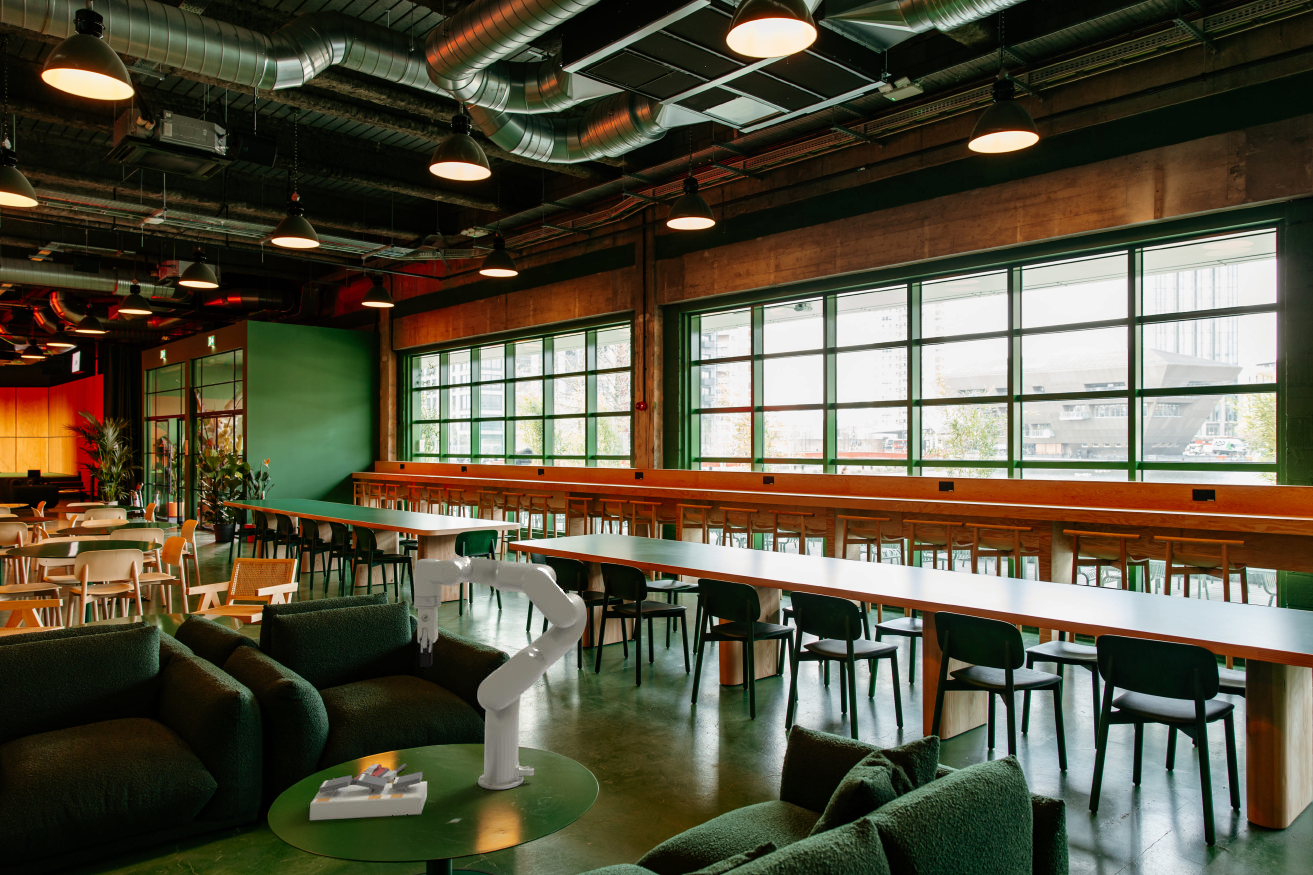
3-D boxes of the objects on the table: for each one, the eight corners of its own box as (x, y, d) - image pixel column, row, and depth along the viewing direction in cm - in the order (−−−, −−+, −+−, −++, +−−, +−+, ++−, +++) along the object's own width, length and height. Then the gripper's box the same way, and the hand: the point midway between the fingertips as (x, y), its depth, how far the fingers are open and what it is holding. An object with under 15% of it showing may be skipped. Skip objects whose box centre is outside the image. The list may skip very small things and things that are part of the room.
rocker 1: (352, 779, 212) (351, 774, 212) (348, 786, 207) (347, 780, 207) (324, 785, 211) (323, 780, 211) (319, 792, 206) (319, 787, 206)
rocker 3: (422, 775, 215) (421, 770, 215) (420, 782, 210) (419, 777, 210) (395, 782, 214) (394, 777, 214) (392, 789, 209) (391, 783, 209)
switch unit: (426, 796, 217) (427, 775, 218) (420, 813, 206) (421, 792, 206) (321, 801, 213) (322, 780, 213) (309, 819, 201) (310, 797, 202)
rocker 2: (386, 783, 214) (387, 778, 214) (382, 790, 209) (384, 785, 209) (359, 777, 213) (361, 772, 213) (355, 784, 208) (357, 779, 208)
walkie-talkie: (376, 794, 219) (408, 769, 239) (376, 777, 220) (409, 754, 240) (346, 792, 221) (380, 767, 240) (346, 776, 221) (381, 752, 241)
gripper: (438, 605, 226) (436, 671, 225) (443, 598, 241) (442, 660, 240) (410, 605, 225) (408, 672, 224) (417, 598, 240) (416, 660, 239)
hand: (426, 665), depth 232 cm, fingers closed
